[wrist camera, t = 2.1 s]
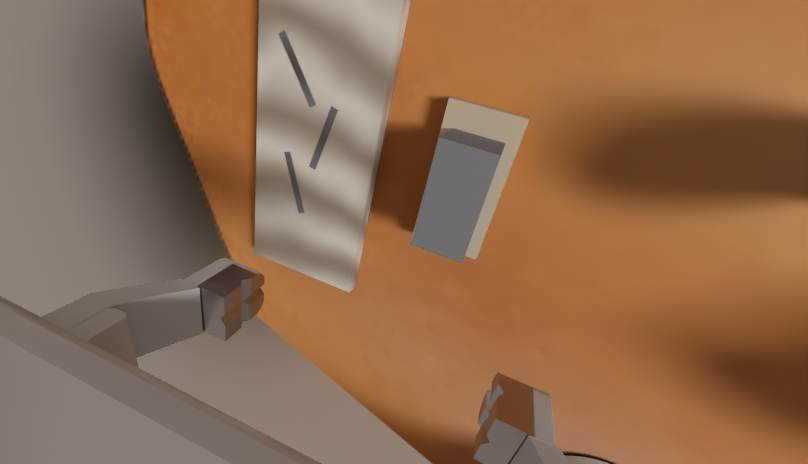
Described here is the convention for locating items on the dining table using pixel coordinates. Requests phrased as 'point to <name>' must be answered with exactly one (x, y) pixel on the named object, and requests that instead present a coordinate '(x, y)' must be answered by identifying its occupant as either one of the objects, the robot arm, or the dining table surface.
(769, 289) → the dining table surface
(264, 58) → the marked board
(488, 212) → the block
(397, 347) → the dining table surface
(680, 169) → the dining table surface
